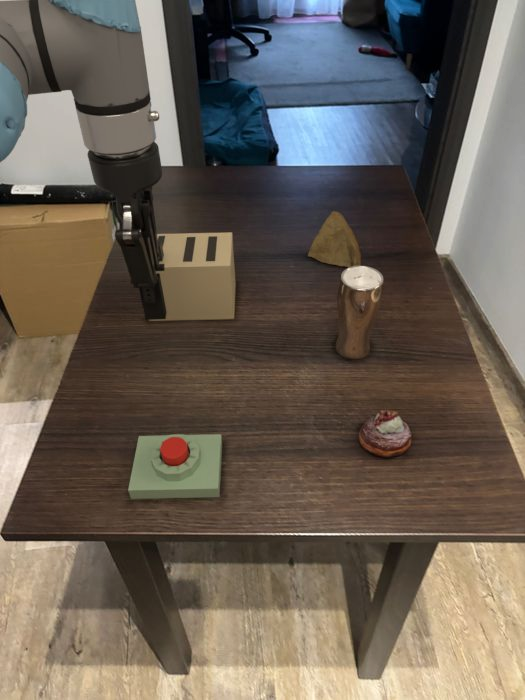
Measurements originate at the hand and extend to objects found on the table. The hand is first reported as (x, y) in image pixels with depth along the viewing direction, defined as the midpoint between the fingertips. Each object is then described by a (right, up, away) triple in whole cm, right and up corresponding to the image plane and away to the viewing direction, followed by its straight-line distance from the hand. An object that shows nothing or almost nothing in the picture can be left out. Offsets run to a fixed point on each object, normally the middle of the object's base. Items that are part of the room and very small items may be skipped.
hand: (156, 315), depth 72 cm
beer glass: (+30, -4, +20) cm, 37 cm away
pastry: (+33, -18, +6) cm, 38 cm away
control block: (+3, -22, +2) cm, 22 cm away
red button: (+3, -19, 0) cm, 19 cm away
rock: (+30, +14, +40) cm, 52 cm away
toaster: (+1, +5, +30) cm, 31 cm away
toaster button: (-4, +11, +20) cm, 23 cm away
